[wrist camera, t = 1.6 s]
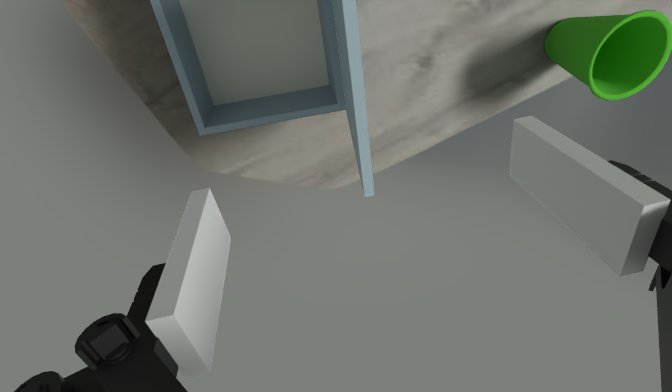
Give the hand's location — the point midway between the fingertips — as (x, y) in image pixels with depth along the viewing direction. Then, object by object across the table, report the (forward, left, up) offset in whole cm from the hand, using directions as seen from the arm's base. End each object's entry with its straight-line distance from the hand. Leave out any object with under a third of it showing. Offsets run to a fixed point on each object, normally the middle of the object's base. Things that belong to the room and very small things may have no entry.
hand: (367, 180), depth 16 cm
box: (-3, -6, -33) cm, 34 cm away
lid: (-3, +2, -16) cm, 17 cm away
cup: (+5, +32, -33) cm, 47 cm away
